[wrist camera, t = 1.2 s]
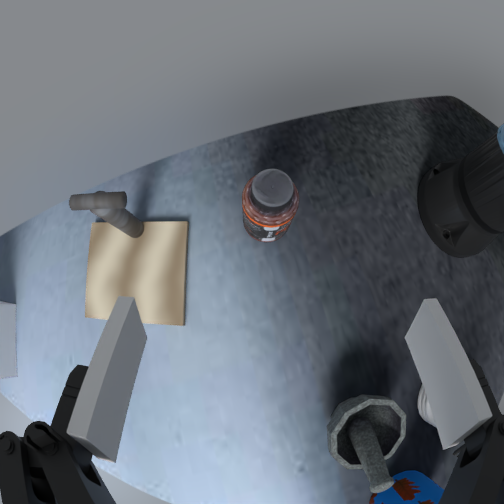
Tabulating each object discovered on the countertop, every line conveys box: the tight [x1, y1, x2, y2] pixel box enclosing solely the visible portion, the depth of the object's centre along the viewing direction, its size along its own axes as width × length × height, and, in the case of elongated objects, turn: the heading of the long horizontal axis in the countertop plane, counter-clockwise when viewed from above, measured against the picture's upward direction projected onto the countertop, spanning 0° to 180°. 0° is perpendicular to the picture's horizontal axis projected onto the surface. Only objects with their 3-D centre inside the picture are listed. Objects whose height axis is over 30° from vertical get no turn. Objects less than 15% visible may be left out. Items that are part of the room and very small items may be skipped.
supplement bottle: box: [242, 169, 299, 242], centre depth 34 cm, size 6×6×11 cm
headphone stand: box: [69, 191, 189, 326], centre depth 32 cm, size 14×13×13 cm
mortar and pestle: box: [327, 394, 406, 493], centre depth 29 cm, size 11×9×12 cm
